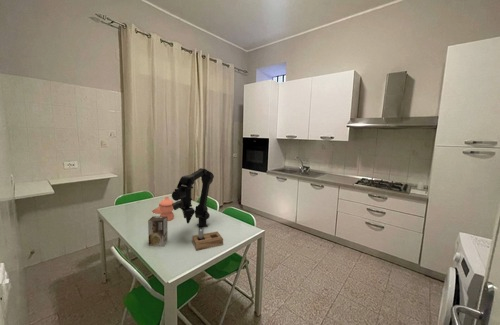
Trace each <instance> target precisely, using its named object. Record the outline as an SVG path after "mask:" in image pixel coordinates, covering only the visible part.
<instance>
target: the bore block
mask: <svg viewBox="0 0 500 325" xmlns="http://www.w3.org/2000/svg"><path fill="white" fill-rule="evenodd" d="M191 238H192V240H191V241H192V244H193V245H194V248H195V251H201V250H207V249H210V248H211V249H212V248H216V247H220V246H223V245H224V238H223V236H222V235H221V234H220V233H219V232H218V231H211V232H206V233H205V232H204V239H203V240H199V241H198V234H195V235H192V237H191Z"/></svg>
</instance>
